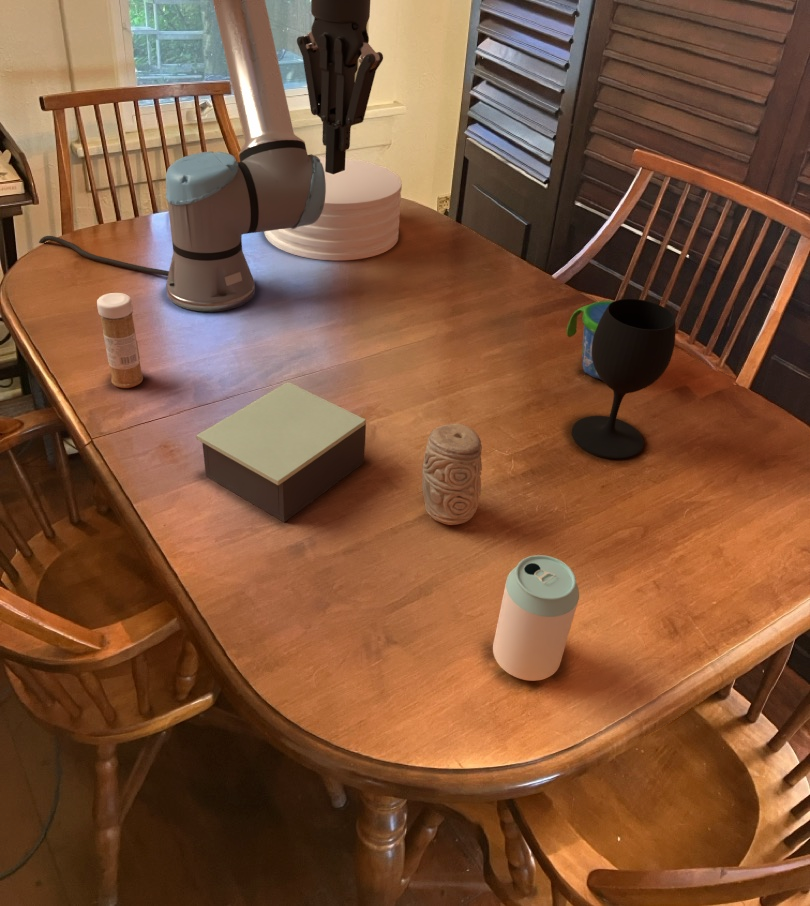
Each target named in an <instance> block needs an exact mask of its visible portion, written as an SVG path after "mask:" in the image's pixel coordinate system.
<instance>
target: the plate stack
mask: <svg viewBox="0 0 810 906" xmlns="http://www.w3.org/2000/svg"><path fill="white" fill-rule="evenodd" d="M317 157H318V158H319V159H320V162H321V163H322V165H323V169H324V173H325V181H326V195H325V203H324V207H323V211H322V213H321V215H320V217H319V219H318V220H317V221H316V222H315V223H313V224H310V225H305V226H300V227H297V228H295V229H292V228H286V229H279V230H271V231H264V236H265V238H266V240H267V241H268V242H269V244H271V245H273V246H274V247H275V248H277V249H279V250H281V251H282V252H286V253H288V254H291V255H295V256H298V257H302V258H306V259H312V260H319V261H321V260H322V261H354V260H362V259H367V258H372V257H375V256H379V255H381V254H384V253H386V252H387V251H389V250H391V249H392V248H394V246H395V245H396V244H397V243H398V241H399V234H400V232H399V231H400V230H399V228H400V215H401V203H402V202H401V201H402V193H401V192H402V185H403V182H402V179H401V177H400V176H399V175H398V174H397V173H396V172H394V171H393V170H391V168H390V169H389V168H388V167H385V166H383V165H380V164H378V163H375V162H371V161H367V160H362V159H358V158H350V157H345V170H344V171H341V172H339V173H336V174H330V173H328V172H325V160H326V156H317Z"/></svg>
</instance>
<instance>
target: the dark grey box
mask: <svg viewBox="0 0 810 906" xmlns="http://www.w3.org/2000/svg"><path fill="white" fill-rule="evenodd" d="M366 430H367V423H366V424H365V425H364V426H362V427H361V428H359V429H358V430H356V431H355V432H354V433H352V434H351V435H349V436H348V437H347V438H345V439H344V440H342V441H341V442H339V443H338V444H337V445H335V446H334V447H332V448H331V449H329V450H328V451H327V452H325V453H324V454H322V455H321V456H320V457H318V458H317V459H315V460H314V461H312V462H311V463H310V464H308V465H307V466H305V467H304V468H302V469H301V470H300V471H298V472H297V473H295V474H294V475H293V476H291V477H290V478H288V479H287V480H285V481H284V482H283V483H281V484H280V485H277V484H275V483H273V482H271V481H269V480H268V479H266V478H264V477H262V476H261V475H259V474H257V473H255V472H254V471H252V470H250V469H248V468H246V467H245V466H243V465H241V464H239V463H238V462H236V461H234V460H232V459H231V458H229V457H227V456H225V455H223V454H222V453H220V452H218V451H216V450H215V449H213V448H211V447H209V446H208V445H206V444H204V443H202V442H201V445H202V451H203V452H202V453H203V461H204V471H205V477H206V478H208V479H210V480H211V481H213V482H215V483H217V484H218V485H220V486H222V487H223V488H225V489H226V490H228V491H230V492H232V493H233V494H235V495H237V496H238V497H240V498H241V499H244V500H246V501H247V502H249V503H251V504H252V505H254V506H256V507H257V508H259V509H260V510H262V511H264V512H265V513H267V514H269V515H271V516H272V517H274V518H276V519H278V520H279V521H281V522H283V523H286V522H287V521H289V520H291V518H292V517H294V516H295V515H296V514H298V513H299V512H300V511H302V510H303V509H304V508H305V507H307V506H309V505H311V503H313V502H314V501H315V500H316V499H318V498H319V497H321V496H322V495H323V494H324V493H326V492H327V491H329V490H330V489H332V488H333V487H334V486H335V485H337V483H338V484H339V482H340V481H342V480H343V479H344V478H346V477H347V476H348V475H350V474H351V473H353V472H354V471H355V470H356V469H358V468H360V466H362V465H363V464H364V463H365V453H366V451H365V450H366Z"/></svg>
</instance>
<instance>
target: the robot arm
mask: <svg viewBox="0 0 810 906" xmlns="http://www.w3.org/2000/svg"><path fill="white" fill-rule="evenodd" d="M310 1H311V2H310V3H311V4H310V5H311V6H310V8H311V10H310V11H311V16H312V17H313V22H312V25H311V29H310V30H311V31H310V32H308V33H307V34H305V35H300V36H298V37H297V38H296V44H297V46H298V49H299V51H300V53H301V57H302V63H303V69H304V75H305V81H306V88H307V95H308V100H309V101H308V102H309V107H310V113H311V114H312V115H313V116H317V117H318V118H320V120H321V122H322V146H324V147H325V157H326V160H325V172H328V173H330V174H336V173H339V172H341V171H344V170H345V158H347V157H346V155H347V154H346V153H347V150H349V149H350V146H351V129H352V126H355V125H358V124H361V123H364V120H365V116H366V113H367V109H368V104H369V100H370V97H371V91H372V88H373V85H374V80H375V76H376V72H377V70H378V68H379V67H380V66H381V64H382V62H383V60H384V55H383V52H380V51H375V49H373V47H372V46H371V45H370V44H369V42H370V38H369V34H368V29H367V26H368V22H369V19H370V17H371V15H370V14H371V0H310ZM212 3H213V7H214V11H215V16H216V20H217V26H218V30H219V34H220V38H221V39H220V40H221V42H222V47H223V51H224V56H225V60H226V64H227V65H226V66H227V69H228V73H229V78H230V82H231V87H232V92H233V95H234V100H235V104H236V108H237V109H236V110H237V114H238V118H239V123H240V126H241V131H242V136H243V140H244V144H243V146H242V147H241V149H240V150H239V152H238V159H239V161H238V160H237V159H236V157H235V156H234V155H232V154H231V153H229V152H228V153H227V152H224V151H223V152H222V151H217V152H214V151H203V152H196V153H192V154H188V155H186V156H183V157H181V158H179V159H177V160H175V161H174V162H173V163H171V165H170V166H169V167H168V168H167V170H166V173H165V200H166V202H167V208H168V218H169V227H170V232H171V233H170V235H171V236H170V237H171V242H172V257H171V261H170V265H169V270H165V269H159V268H152V267H147V266H143V265H137V264H134V263H129V262H125V261H121V260H117V259H112V258H109V257H103V256H100V255H96V254H92V253H91V252H88V251H86V250H84V249H82V248H81V247H79V246H78V245H77V244H75V243H73V242H70V241H67V240H65V239H63V238H60V237H57V236H56V235H55V236H54V235H45V236H43V237H41V238H40V240H39V241H38V244H46V243H47V242H54V243H57V244H60V245H62V246H64V247H67V248H69V249H71V250H74V252H76V253H77V254H79V255H80V256H82V257H84V258H86V259H89V260H92V261H96V262H99V263H103V264H108V265H112V266H117V267H120V268H124V269H129V270H133V271H137V272H143V273H146V274H153V275H159V276H164V277H167V278H166V283H165V284H166V285H165V286H166V295H167V298H168V299H169V300H170V301H171V303H173V304H174V305H176V306H178V307H180V308H183V309H187V310H191V311H196V312H210V313H211V312H221V311H223V312H224V311H228V310H233V309H236V308H239V307H241V306H244V305H245V304H247V303H248V302H250V301H251V300H252V299H253V298H254V296H255V293H256V289H255V279H254V276H253V274H252V272H251V269H250V267H249V265H248V262H247V258H246V256H245V254H244V252H243V242H242V236H243V235H248V234H256V233H265V231H271V230H279V229H286V228H292V229H295V228H297V227H300V226H305V225H310V224H313V223H315V222H316V221H317V220H318V219H319V217H320V215H321V213H322V211H323V207H324V203H325V195H326V181H325V173H324V169H323V165H322V163H321V162H320V159H319V158H318V157H319V156H317V155H314V154H311V153H310V154H308V151H307V150H308V149H307V146H306V142H305V140H303V139H302V138H300V137H299V136H298V135H296V134H295V132H294V128H293V123H292V118H291V114H290V109H289V105H288V104H289V103H288V100H287V95H286V91H285V87H284V82H283V77H282V72H281V67H280V63H279V58H278V54H277V49H276V44H275V40H274V36H273V33H272V32H273V31H272V26H271V22H270V17H269V12H268V7H267V4H266V0H212ZM359 63H360V64H359Z"/></svg>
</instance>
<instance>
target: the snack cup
mask: <svg viewBox="0 0 810 906" xmlns="http://www.w3.org/2000/svg"><path fill="white" fill-rule="evenodd" d="M614 301H615V300H600V301H595V302H592V303H590V304H585V305H584V306H582V307H579V308H577V309H576V310H575V311H574V312H573V313H572V314H571V316H570V319H569V320H568V323H567V327H566V335H567V337H568V338H572V337H574V336H575V335H576V334H577V328H578V326H577V325H578V316H579V315H581V313H582V324H583V333H582V334H583V335H582V351H581V354H582V355H581V365H582V366H581V367H582V369H583V372H584V373H585V374H587V375H588V376H590V377H592V378H594V379H599V380H600V381H602V382H603V380H602V379H601V378H600V377H599V375H598V373H597V371H596V369H595V367H594V364H593V360H592V342H593V337H594V334H595V331H596V328H597V326H598V323H599V321H600V319H601V317H602V315H603V314H604V312H605V310H606V309H607V307H608V306H609V304H610V303H612V302H614Z"/></svg>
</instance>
